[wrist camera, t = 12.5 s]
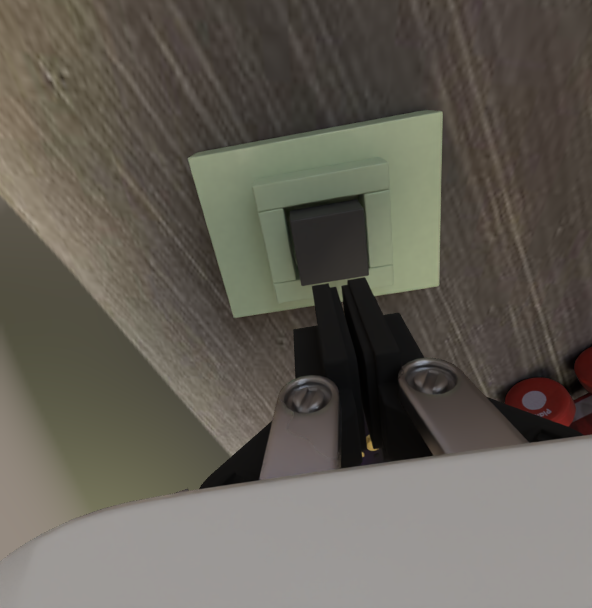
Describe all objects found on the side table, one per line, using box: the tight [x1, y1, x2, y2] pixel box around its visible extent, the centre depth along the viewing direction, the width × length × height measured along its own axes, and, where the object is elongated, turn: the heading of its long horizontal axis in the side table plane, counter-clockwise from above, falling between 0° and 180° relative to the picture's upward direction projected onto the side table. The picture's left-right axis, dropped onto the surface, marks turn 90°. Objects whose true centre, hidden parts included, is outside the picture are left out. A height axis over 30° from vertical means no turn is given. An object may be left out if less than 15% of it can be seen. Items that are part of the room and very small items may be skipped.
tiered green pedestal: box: [188, 110, 443, 318], centre depth 20 cm, size 12×9×4 cm
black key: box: [290, 199, 369, 286], centre depth 17 cm, size 3×3×2 cm
